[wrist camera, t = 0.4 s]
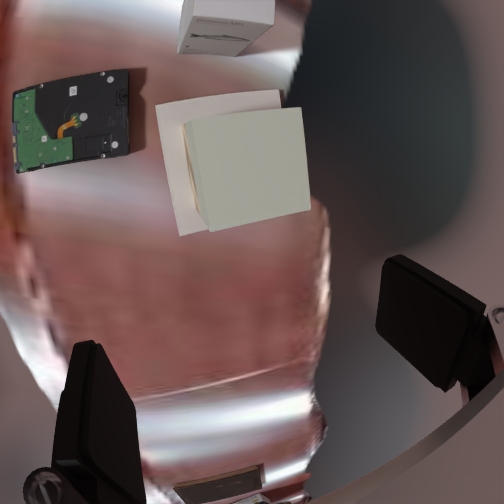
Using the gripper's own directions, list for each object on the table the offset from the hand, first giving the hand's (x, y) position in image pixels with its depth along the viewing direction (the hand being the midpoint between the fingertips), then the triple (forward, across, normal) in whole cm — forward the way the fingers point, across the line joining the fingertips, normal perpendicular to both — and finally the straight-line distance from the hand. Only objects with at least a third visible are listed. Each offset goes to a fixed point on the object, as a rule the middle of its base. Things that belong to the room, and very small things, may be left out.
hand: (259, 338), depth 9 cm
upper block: (+24, -7, -2) cm, 25 cm away
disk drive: (+30, +11, -11) cm, 34 cm away
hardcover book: (+30, +10, +77) cm, 83 cm away
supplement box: (+30, -6, -19) cm, 36 cm away
